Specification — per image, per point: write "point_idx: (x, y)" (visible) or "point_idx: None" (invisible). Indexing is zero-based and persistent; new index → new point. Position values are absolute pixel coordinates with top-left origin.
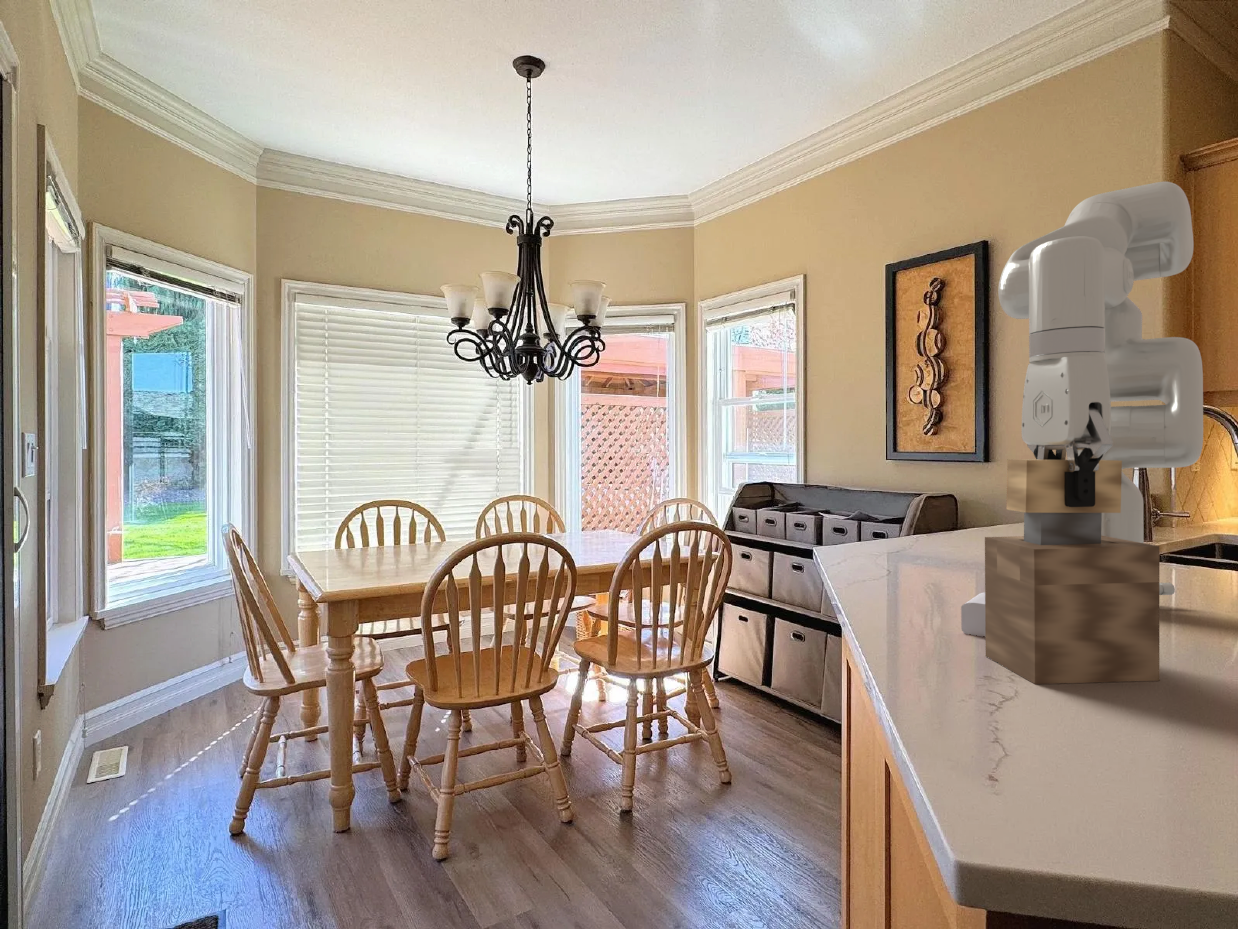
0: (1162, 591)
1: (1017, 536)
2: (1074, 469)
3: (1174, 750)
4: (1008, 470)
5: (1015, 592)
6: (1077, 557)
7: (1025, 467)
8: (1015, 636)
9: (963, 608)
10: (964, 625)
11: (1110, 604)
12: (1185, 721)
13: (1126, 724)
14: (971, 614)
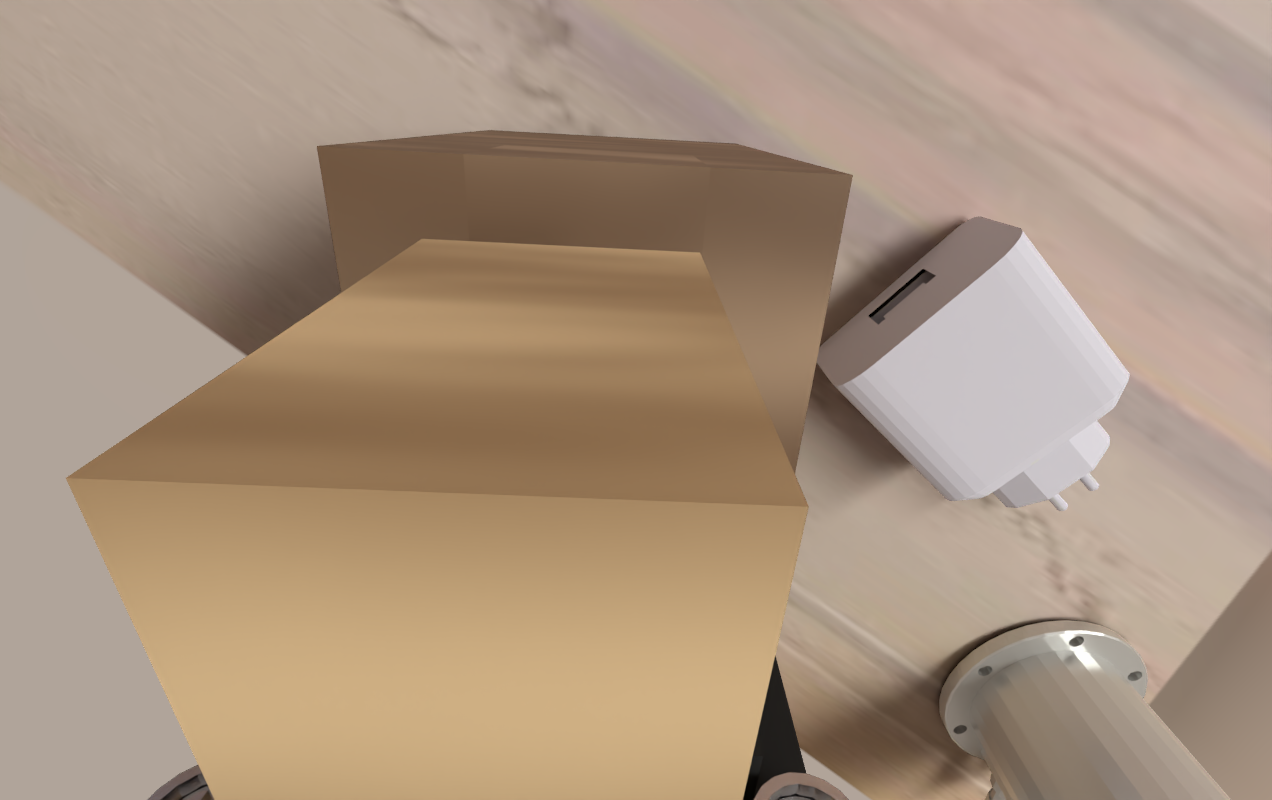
0: (990, 797)
1: (806, 363)
2: (167, 784)
3: (84, 156)
4: (729, 400)
5: (547, 144)
6: None
7: (217, 409)
8: (568, 138)
9: (1012, 233)
10: (978, 225)
11: None
12: (260, 298)
13: (222, 163)
14: (980, 249)
